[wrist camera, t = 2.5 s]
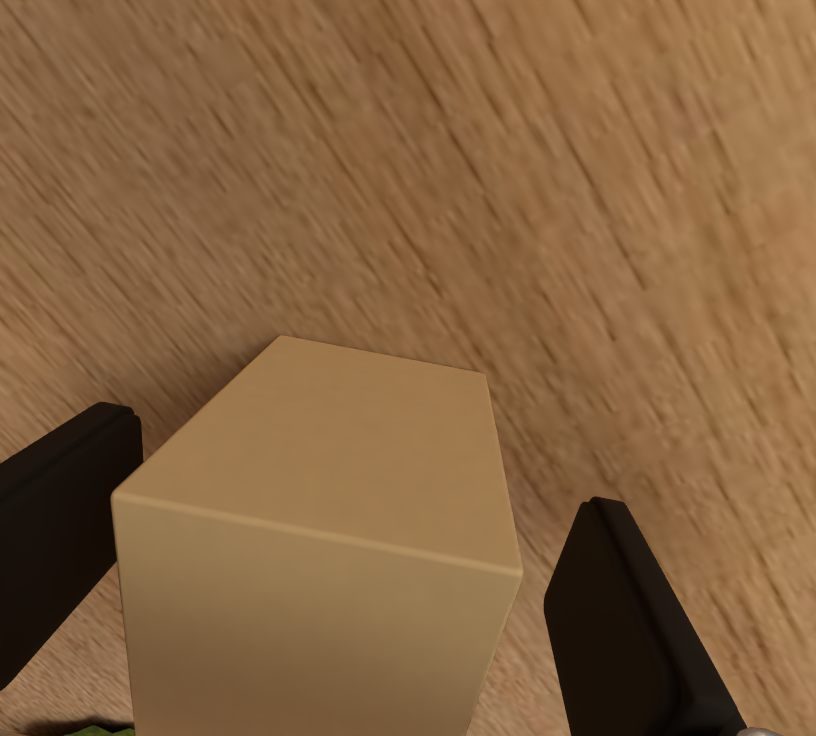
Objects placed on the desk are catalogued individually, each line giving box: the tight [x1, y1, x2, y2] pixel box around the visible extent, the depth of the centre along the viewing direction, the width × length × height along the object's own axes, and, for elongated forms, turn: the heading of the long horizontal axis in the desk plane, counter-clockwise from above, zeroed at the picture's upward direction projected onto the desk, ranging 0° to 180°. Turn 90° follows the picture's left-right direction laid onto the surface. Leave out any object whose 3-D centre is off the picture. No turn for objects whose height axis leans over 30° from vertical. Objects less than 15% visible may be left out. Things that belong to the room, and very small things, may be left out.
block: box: [110, 335, 524, 736], centre depth 9 cm, size 5×5×6 cm
